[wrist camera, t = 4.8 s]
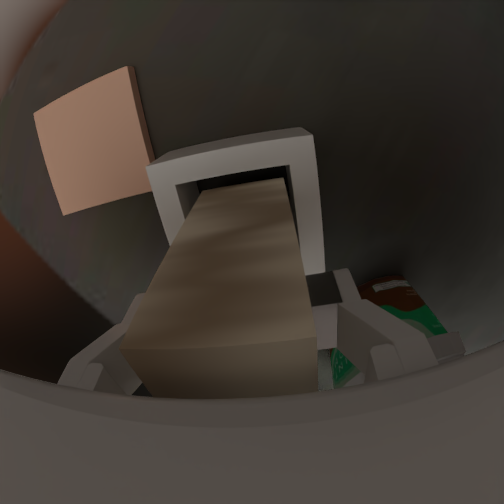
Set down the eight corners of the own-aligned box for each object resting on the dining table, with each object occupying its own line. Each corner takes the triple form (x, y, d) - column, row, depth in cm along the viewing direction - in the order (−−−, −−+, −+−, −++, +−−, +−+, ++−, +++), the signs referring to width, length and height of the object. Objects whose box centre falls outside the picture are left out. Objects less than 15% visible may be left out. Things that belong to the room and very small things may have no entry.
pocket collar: (300, 127, 15) (312, 134, 12) (314, 246, 19) (325, 280, 16) (168, 151, 16) (145, 166, 13) (200, 262, 20) (188, 298, 17)
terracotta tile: (134, 66, 14) (127, 65, 13) (162, 184, 17) (157, 189, 17) (42, 111, 14) (33, 113, 14) (70, 210, 18) (63, 215, 17)
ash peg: (283, 177, 14) (316, 336, 5) (293, 249, 15) (317, 427, 7) (202, 190, 14) (118, 348, 5) (220, 259, 16) (183, 431, 7)
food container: (337, 248, 19) (384, 363, 11) (409, 259, 20) (473, 356, 11) (297, 362, 26) (306, 459, 17) (356, 364, 26) (377, 452, 17)
